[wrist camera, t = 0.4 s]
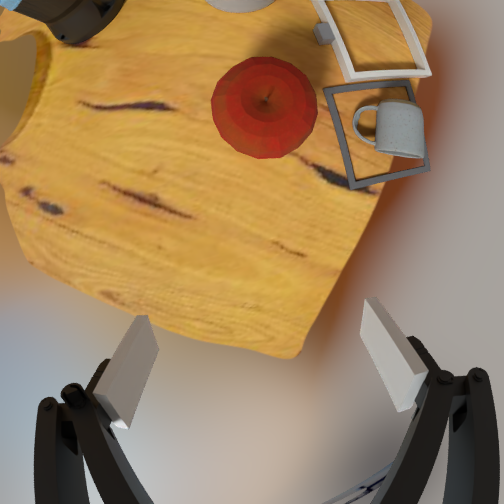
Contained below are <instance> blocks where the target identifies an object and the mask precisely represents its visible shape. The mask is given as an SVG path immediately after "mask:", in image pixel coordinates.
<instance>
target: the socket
mask: <svg viewBox="0 0 504 504" xmlns="http://www.w3.org/2000/svg"><path fill="white" fill-rule="evenodd" d="M324 1H332V0H311V2H312V4H313V6H314V8H315V10H316V12H317V14H318V16H319V18H320V20H321V22H322V23H320V24H316V25H315V27H314V29H313V32H314V34H315V36H316V39H317V41H318V43H319V45H326V44H331V45H332V47H333V50H334V52H335V55H336V58H337V60H338V63H339V65H340V68H341V71H342V74H343V76H344V79H345V82H346V83H347V82H356V81H365V80H376V79H391V78H424V77H428V76H431V75H432V74H431V71H430V68H429V65H428V63H427V60H426V57H425V55H424V52H423V49H422V47H421V45H420V42H419V40H418V37H417V35H416V33H415V31H414V29H413V26H412V24H411V22H410V20H409V18H408V16H407V14H406V12H405V10H404V8H403V6H402V4H401V3H400V1H399V0H358V1H377V2H388V4H389V6H390V8H391V10H392V12H393V14H394V16H395V18H396V20H397V22H398V24H399V26H400V28H401V30H402V32H403V35H404V37H405V39H406V42H407V44H408V46H409V49H410V51H411V54H412V57H413V59H414V62H415V65H416V67H417V70H378V71H364V72H355V71H354V68H353V65H352V63H351V60H350V57H349V55H348V52H347V50H346V47H345V45H344V42H343V40H342V38H341V35H340V33H339V31H338V29H337V26H336V24H335V22H334V20H333V18H332V16H331V14H330V12H329V10H328V8H327V6H326V4H325V2H324Z"/></svg>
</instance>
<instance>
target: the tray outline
mask: <svg viewBox="0 0 504 504" xmlns="http://www.w3.org/2000/svg"><path fill="white" fill-rule="evenodd" d="M400 86H405V87H406V90H407V93H408V96H409V100H410V101H411V102H413V103H416V101H415V97H414V94H413V90H412V87H411V84H410V81H409V80H400V81H383V82H371V83H361V84H352V85H344V86H337V87H331V88H324V89H323V91H324V94H325V97H326V101H327V104H328V107H329V110H330V113H331V117H332V120H333V123H334V127H335V130H336V134H337V138H338V141H339V145H340V149H341V153H342V157H343V161H344V165H345V169H346V173H347V178H348V182H349V187H350V190H352V189H356V188H360V187H364V186H368V185H372V184H376V183H380V182H385V181H388V180H393V179H397V178H401V177H405V176H410V175H414V174H418V173H423V172H427V171H430V164H429V158H428V152H427V147H426V142H425V137H424V157H423V161H424V166H421V167H417V168H412V169H407V170H403V171H398V172H394V173H389V174H385V175H381V176H377V177H372V178H368V179H364V180H360V181H356V182H355V178H354V173H353V169H352V164H351V160H350V156H349V152H348V148H347V144H346V140H345V137H344V133H343V129H342V126H341V122H340V119H339V116H338V112H337V109H336V106H335V103H334V99H333V96H332V94H335V93H342V92H349V91H356V90H365V89H374V88H385V87H400Z"/></svg>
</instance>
